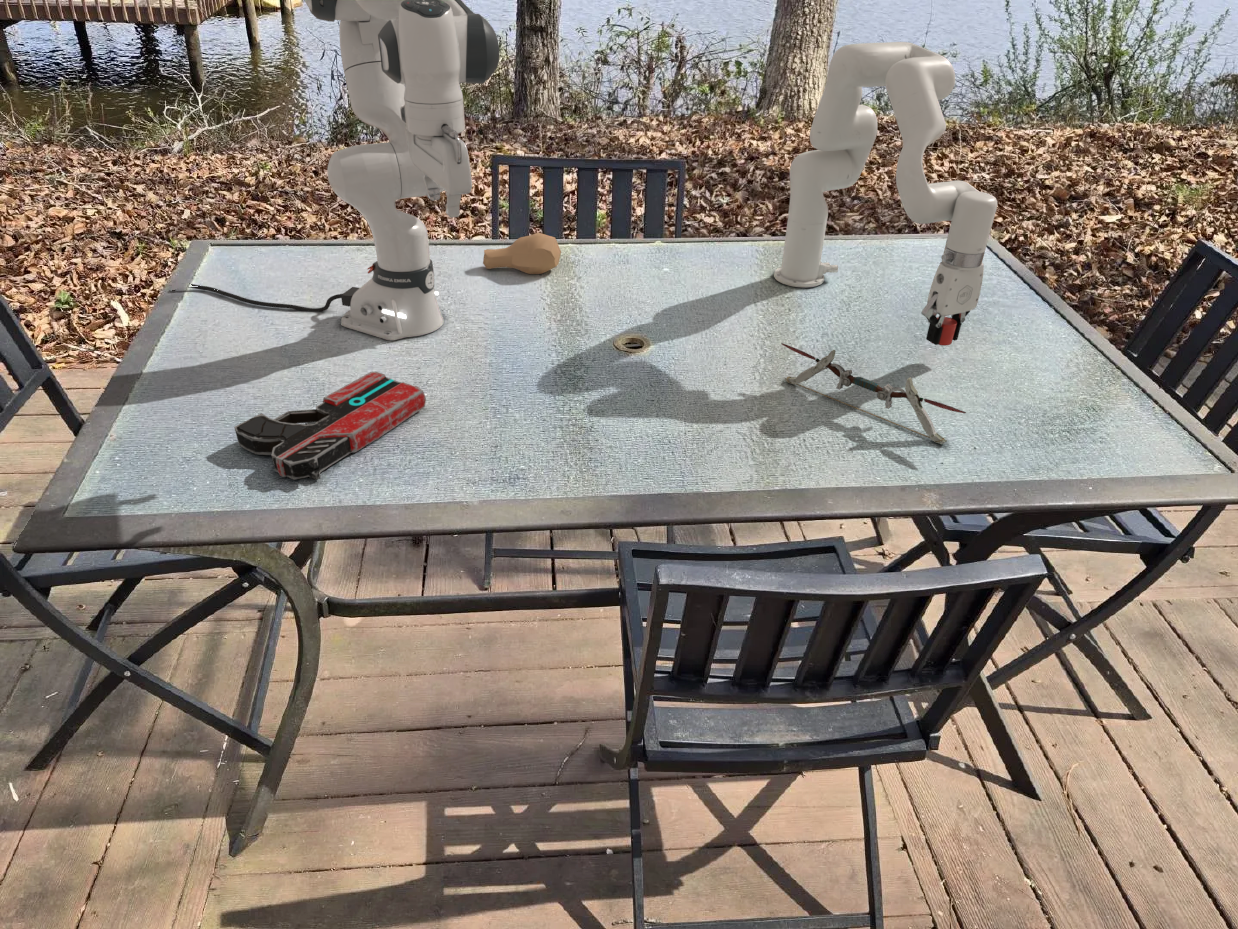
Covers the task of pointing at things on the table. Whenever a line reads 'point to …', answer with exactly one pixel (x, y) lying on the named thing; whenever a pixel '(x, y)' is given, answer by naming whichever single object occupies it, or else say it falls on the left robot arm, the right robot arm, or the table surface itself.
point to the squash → (526, 254)
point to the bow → (883, 393)
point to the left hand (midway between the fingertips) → (443, 207)
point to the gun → (331, 425)
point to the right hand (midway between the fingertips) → (941, 339)
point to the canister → (947, 331)
